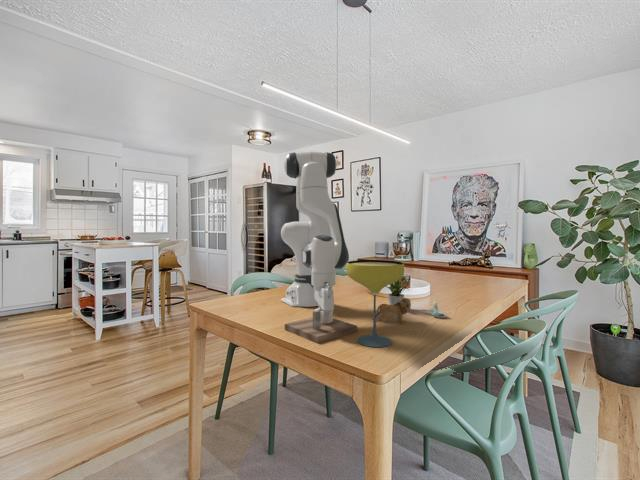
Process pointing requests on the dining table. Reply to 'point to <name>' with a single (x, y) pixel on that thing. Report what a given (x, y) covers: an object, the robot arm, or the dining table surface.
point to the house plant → (396, 291)
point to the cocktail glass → (375, 288)
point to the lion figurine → (394, 309)
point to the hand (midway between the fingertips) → (323, 317)
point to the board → (320, 328)
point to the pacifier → (436, 311)
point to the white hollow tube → (328, 317)
